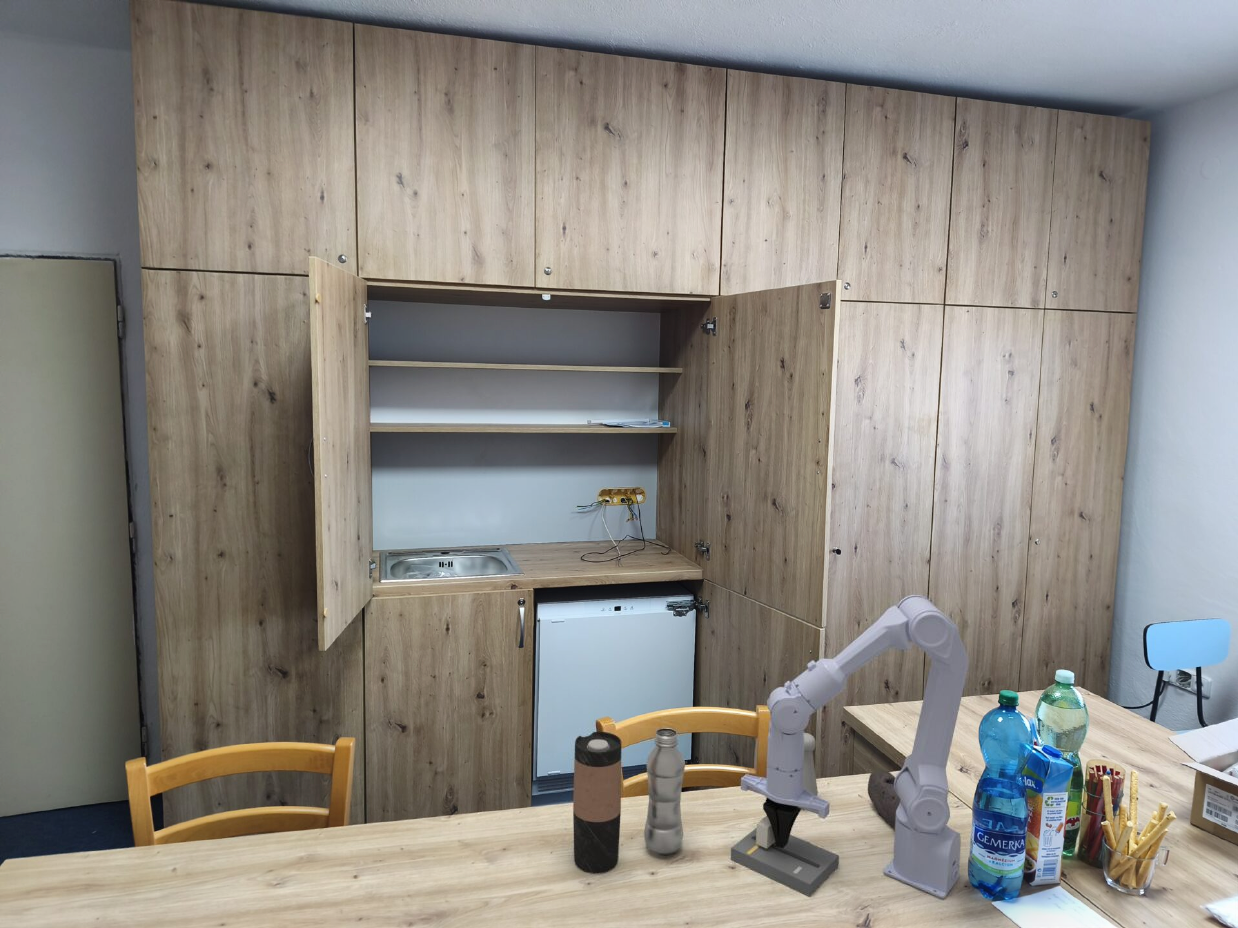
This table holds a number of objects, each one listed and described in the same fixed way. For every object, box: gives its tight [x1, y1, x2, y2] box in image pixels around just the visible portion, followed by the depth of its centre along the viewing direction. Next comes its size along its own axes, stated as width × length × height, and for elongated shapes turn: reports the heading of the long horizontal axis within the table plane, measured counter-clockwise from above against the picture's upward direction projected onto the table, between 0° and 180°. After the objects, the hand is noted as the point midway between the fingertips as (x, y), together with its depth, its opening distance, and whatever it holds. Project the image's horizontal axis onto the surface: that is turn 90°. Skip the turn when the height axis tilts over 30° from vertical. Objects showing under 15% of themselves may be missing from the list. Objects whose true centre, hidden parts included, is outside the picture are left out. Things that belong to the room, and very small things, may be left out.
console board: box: [730, 827, 840, 898], centre depth 126 cm, size 14×10×2 cm
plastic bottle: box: [643, 727, 686, 856], centre depth 129 cm, size 6×7×20 cm
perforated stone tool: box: [867, 769, 900, 829], centre depth 138 cm, size 15×5×7 cm, turn 6°
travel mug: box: [572, 731, 623, 874], centre depth 125 cm, size 8×8×20 cm
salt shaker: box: [802, 732, 819, 797], centre depth 144 cm, size 6×6×13 cm
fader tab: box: [756, 815, 775, 849], centre depth 128 cm, size 2×4×4 cm, turn 139°
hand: (781, 844), depth 126 cm, fingers closed
